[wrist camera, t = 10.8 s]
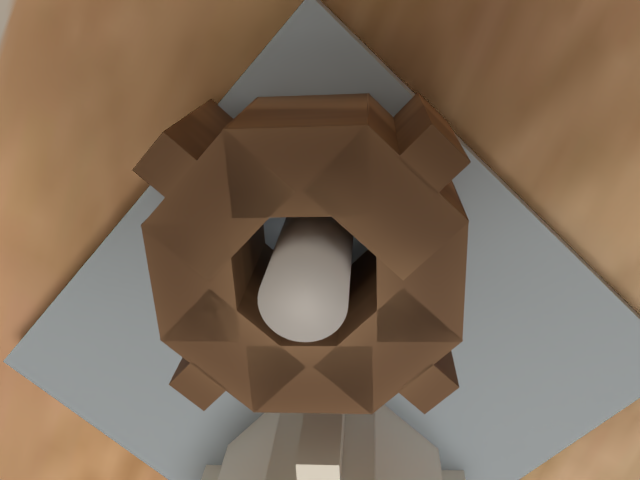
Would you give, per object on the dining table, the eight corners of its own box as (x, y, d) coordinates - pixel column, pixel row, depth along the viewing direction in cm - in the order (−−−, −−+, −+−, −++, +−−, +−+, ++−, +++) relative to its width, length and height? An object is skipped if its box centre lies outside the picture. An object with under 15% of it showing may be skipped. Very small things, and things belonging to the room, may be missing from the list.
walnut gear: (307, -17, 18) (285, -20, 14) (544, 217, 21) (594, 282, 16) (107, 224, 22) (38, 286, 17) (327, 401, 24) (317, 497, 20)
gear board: (313, -6, 20) (282, -4, 13) (668, 344, 24) (790, 488, 17) (22, 341, 26) (-103, 467, 19) (340, 573, 30) (331, 747, 23)
